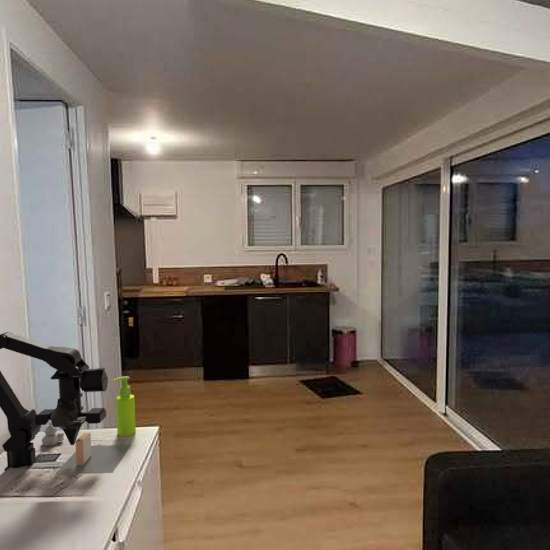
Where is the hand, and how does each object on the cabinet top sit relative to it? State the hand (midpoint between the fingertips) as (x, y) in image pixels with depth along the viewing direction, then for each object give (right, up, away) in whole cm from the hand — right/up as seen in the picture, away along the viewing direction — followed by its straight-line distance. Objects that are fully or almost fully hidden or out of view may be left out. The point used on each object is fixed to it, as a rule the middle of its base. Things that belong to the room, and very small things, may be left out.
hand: (72, 444), depth 138 cm
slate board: (+6, -5, +1) cm, 8 cm away
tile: (+3, -5, 0) cm, 6 cm away
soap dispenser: (+9, -4, +20) cm, 23 cm away
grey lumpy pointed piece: (-12, -5, +13) cm, 19 cm away
